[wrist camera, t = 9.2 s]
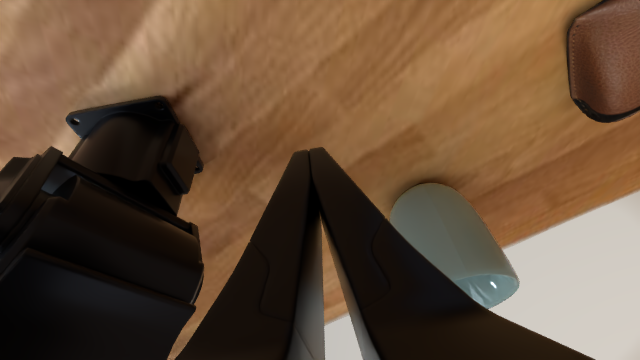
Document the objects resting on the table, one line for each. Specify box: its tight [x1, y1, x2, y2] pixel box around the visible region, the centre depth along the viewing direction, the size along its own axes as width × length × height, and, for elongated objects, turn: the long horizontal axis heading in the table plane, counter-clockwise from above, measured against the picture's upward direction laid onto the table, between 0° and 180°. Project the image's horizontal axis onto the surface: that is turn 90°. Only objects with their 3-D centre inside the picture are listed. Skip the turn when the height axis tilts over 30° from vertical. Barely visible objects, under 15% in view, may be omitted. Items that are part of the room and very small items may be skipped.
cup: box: [389, 183, 519, 309], centre depth 27 cm, size 8×8×10 cm
